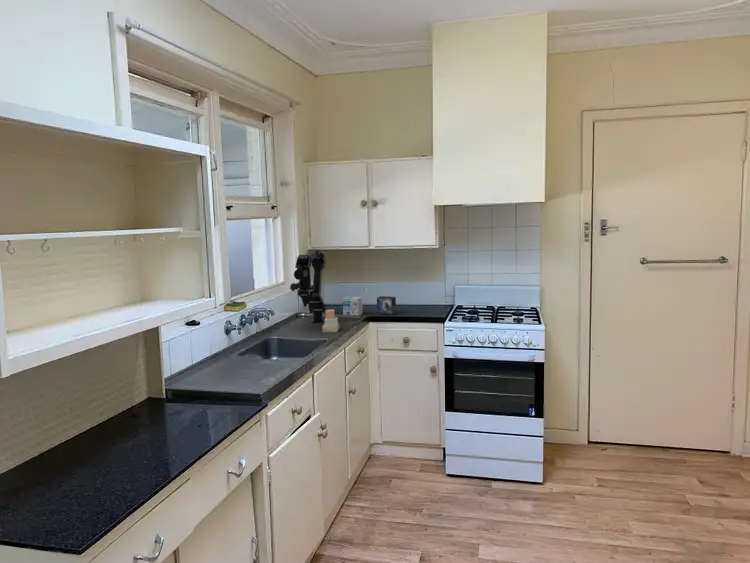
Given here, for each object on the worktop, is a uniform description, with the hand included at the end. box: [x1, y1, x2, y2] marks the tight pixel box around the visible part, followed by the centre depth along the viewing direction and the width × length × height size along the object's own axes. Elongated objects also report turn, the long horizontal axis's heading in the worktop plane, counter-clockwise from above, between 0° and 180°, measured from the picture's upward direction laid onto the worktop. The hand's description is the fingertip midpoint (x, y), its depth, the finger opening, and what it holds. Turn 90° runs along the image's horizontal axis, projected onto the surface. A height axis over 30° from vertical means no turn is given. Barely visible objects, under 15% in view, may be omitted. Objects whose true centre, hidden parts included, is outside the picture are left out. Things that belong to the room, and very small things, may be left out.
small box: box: [376, 295, 397, 316], centre depth 349 cm, size 11×6×10 cm, turn 62°
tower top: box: [324, 316, 339, 326], centre depth 306 cm, size 6×6×4 cm
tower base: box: [321, 322, 340, 333], centre depth 306 cm, size 8×8×4 cm
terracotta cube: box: [325, 309, 336, 319], centre depth 305 cm, size 4×4×4 cm
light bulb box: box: [342, 296, 364, 316], centre depth 350 cm, size 11×7×11 cm, turn 68°
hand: (306, 305), depth 312 cm, fingers open, 9 cm apart
